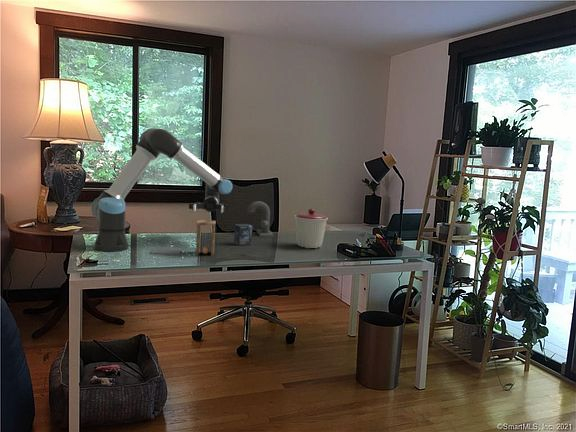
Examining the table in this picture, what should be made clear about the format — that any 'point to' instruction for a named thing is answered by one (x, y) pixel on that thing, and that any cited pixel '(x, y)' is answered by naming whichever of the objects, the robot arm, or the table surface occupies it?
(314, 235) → the canister
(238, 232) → the box
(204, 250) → the ball
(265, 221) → the faucet
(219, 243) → the table surface
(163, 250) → the mat
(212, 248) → the wooden open frame
